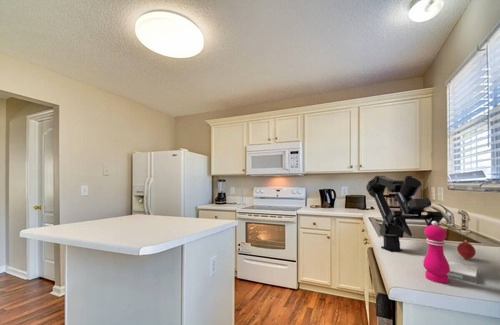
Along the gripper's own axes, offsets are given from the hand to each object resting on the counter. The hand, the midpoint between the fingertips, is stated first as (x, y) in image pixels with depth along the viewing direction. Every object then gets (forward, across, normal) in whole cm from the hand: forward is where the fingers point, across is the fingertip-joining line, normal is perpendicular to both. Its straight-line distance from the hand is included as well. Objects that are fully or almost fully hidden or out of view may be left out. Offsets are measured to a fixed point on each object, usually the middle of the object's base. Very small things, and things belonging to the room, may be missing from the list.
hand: (424, 236), depth 87 cm
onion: (-2, +26, +21) cm, 33 cm away
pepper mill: (+14, 0, +5) cm, 15 cm away
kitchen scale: (+9, +11, +9) cm, 17 cm away
